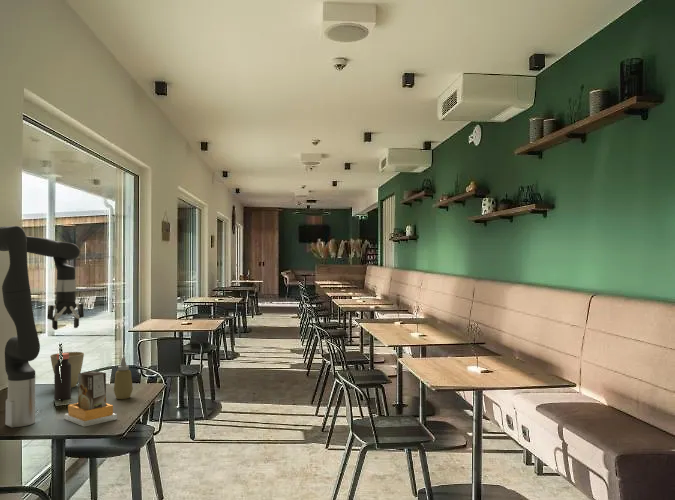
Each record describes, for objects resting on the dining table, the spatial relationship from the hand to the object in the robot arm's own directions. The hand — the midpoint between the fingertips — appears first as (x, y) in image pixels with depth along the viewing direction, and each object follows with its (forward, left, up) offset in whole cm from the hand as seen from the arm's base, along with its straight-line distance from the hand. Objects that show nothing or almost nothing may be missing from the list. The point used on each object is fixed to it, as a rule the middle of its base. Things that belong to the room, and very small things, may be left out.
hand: (65, 328), depth 244 cm
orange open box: (-2, -26, -33) cm, 42 cm away
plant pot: (+18, +38, -33) cm, 54 cm away
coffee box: (-2, -26, -31) cm, 41 cm away
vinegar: (+6, +16, -33) cm, 37 cm away
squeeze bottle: (+24, -4, -33) cm, 41 cm away
